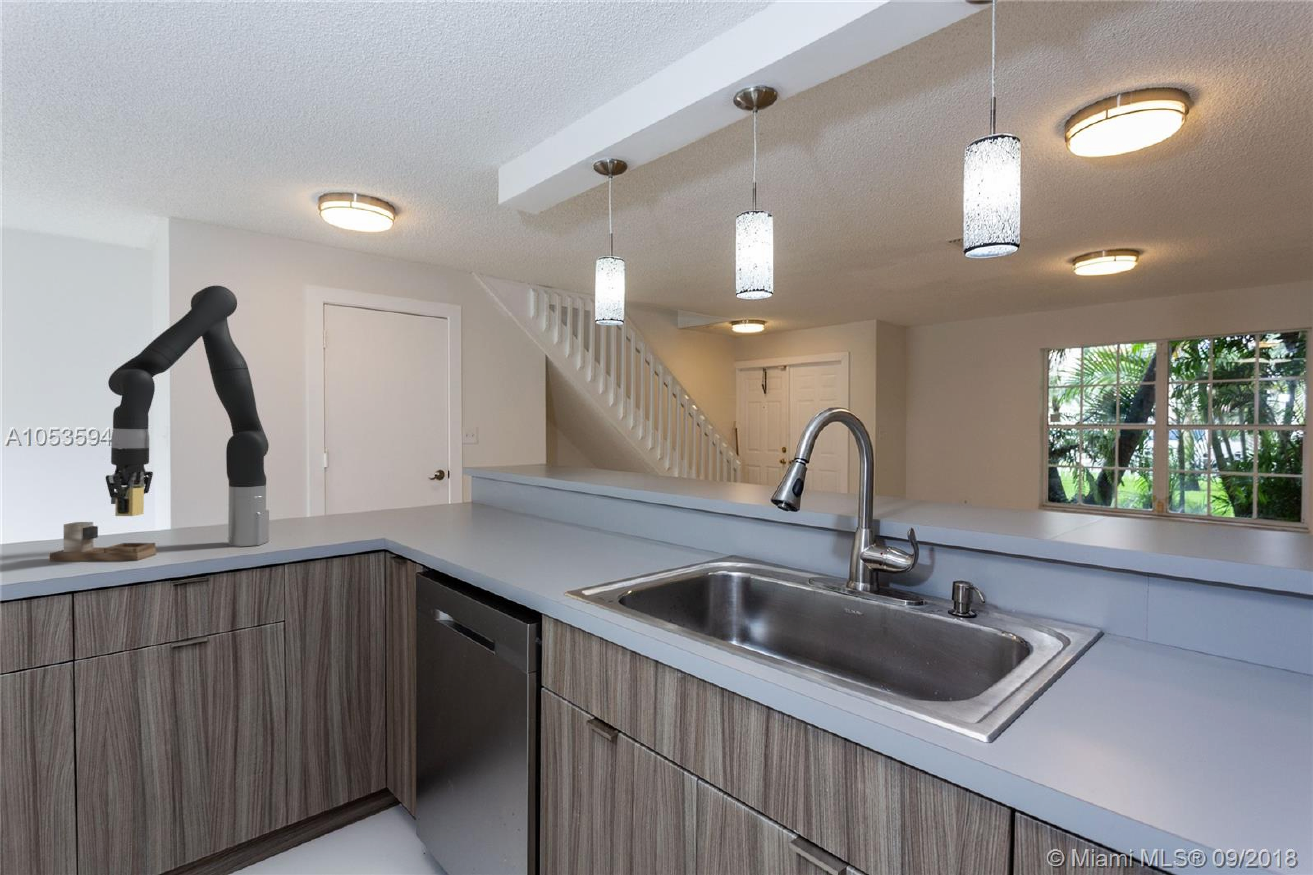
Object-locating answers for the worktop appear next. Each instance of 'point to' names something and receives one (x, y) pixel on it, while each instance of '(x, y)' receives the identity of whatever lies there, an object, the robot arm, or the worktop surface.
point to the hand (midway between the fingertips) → (129, 511)
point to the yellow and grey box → (132, 502)
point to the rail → (81, 548)
